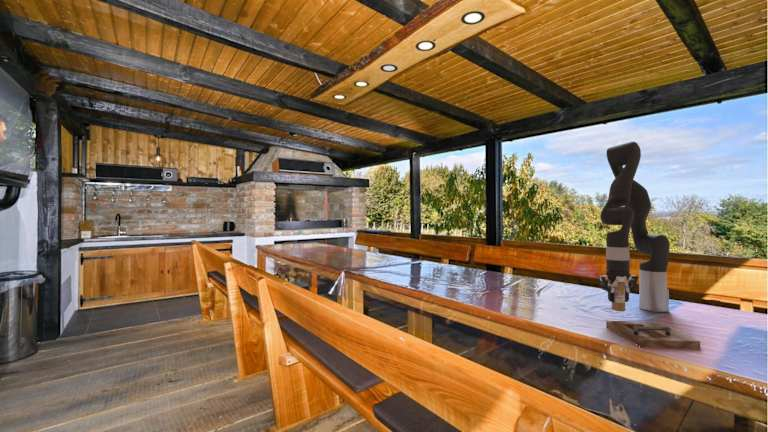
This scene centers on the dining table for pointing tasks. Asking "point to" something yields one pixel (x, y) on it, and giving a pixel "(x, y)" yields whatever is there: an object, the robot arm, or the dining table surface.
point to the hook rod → (666, 328)
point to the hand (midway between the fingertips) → (618, 301)
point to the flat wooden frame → (658, 337)
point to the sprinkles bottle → (619, 295)
